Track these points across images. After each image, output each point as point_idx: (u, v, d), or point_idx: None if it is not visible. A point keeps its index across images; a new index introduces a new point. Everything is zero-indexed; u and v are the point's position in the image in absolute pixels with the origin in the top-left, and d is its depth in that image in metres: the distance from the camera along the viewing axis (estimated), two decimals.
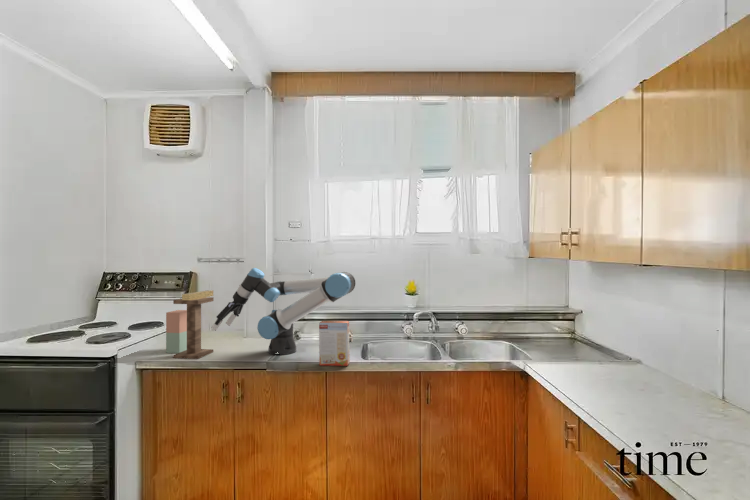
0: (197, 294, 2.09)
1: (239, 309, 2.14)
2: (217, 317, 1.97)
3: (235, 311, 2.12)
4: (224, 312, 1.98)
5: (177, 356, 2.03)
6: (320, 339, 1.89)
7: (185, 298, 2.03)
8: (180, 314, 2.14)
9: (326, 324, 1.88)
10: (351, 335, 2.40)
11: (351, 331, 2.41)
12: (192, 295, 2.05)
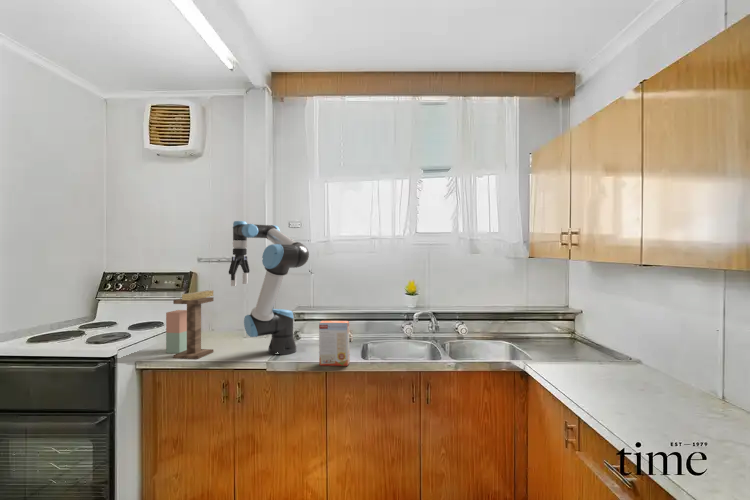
0: (197, 294, 2.09)
1: (246, 266, 2.33)
2: (229, 272, 2.16)
3: (244, 268, 2.31)
4: (232, 265, 2.17)
5: (177, 356, 2.03)
6: (320, 339, 1.89)
7: (185, 298, 2.03)
8: (180, 314, 2.14)
9: (326, 324, 1.88)
10: (351, 335, 2.39)
11: (351, 331, 2.41)
12: (192, 295, 2.05)
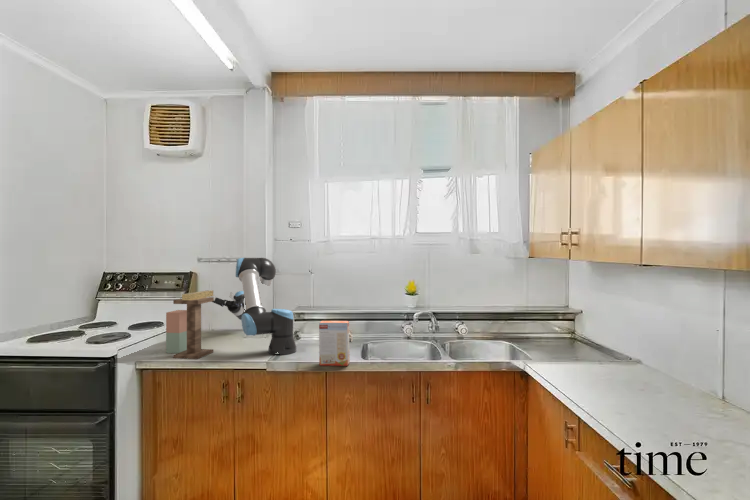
0: (197, 294, 2.09)
1: None
2: None
3: (234, 300, 2.41)
4: None
5: (177, 356, 2.03)
6: (320, 339, 1.89)
7: (185, 298, 2.03)
8: (180, 314, 2.14)
9: (326, 324, 1.88)
10: (351, 335, 2.39)
11: (351, 331, 2.41)
12: (192, 295, 2.05)
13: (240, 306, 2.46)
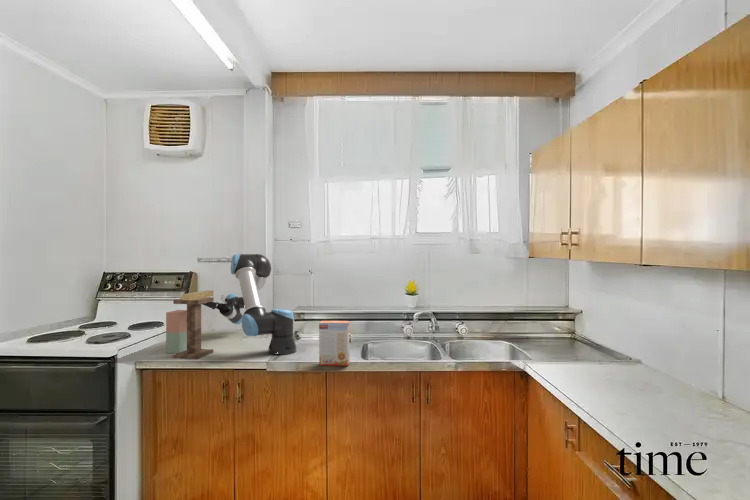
0: (197, 294, 2.09)
1: None
2: None
3: None
4: None
5: (177, 356, 2.03)
6: (320, 339, 1.89)
7: (185, 298, 2.03)
8: (180, 314, 2.14)
9: (326, 324, 1.88)
10: (351, 335, 2.39)
11: (351, 331, 2.41)
12: (192, 295, 2.05)
13: (232, 309, 2.37)
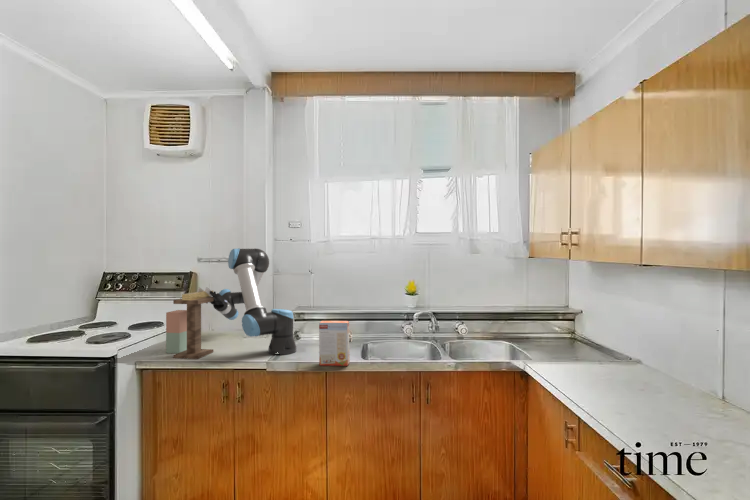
0: (197, 294, 2.09)
1: None
2: None
3: None
4: None
5: (177, 356, 2.03)
6: (320, 339, 1.89)
7: (185, 298, 2.03)
8: (180, 314, 2.14)
9: (326, 324, 1.88)
10: (350, 335, 2.39)
11: (350, 331, 2.41)
12: (192, 295, 2.05)
13: (224, 303, 2.29)
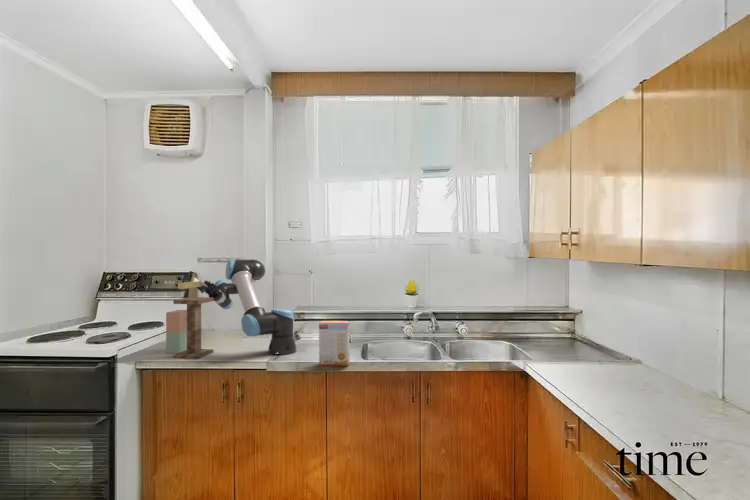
0: (192, 283, 2.22)
1: None
2: None
3: None
4: None
5: (177, 356, 2.03)
6: (320, 339, 1.89)
7: (181, 287, 2.15)
8: (180, 314, 2.14)
9: (326, 324, 1.88)
10: (350, 335, 2.39)
11: (350, 331, 2.41)
12: (187, 284, 2.17)
13: (219, 292, 2.41)
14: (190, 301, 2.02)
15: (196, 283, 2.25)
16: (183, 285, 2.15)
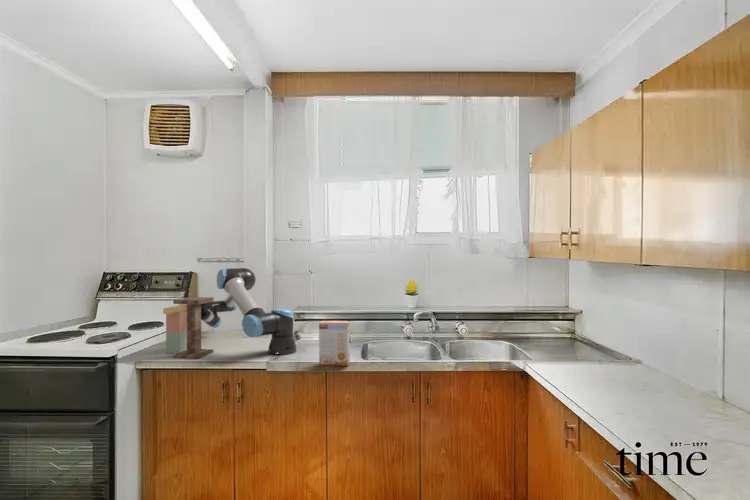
0: (178, 308, 2.15)
1: None
2: None
3: None
4: None
5: (177, 356, 2.03)
6: (320, 339, 1.89)
7: (166, 312, 2.09)
8: (180, 314, 2.14)
9: (326, 324, 1.88)
10: (350, 335, 2.39)
11: (350, 331, 2.40)
12: (173, 309, 2.11)
13: (208, 312, 2.35)
14: (190, 301, 2.02)
15: (182, 307, 2.19)
16: (169, 310, 2.09)
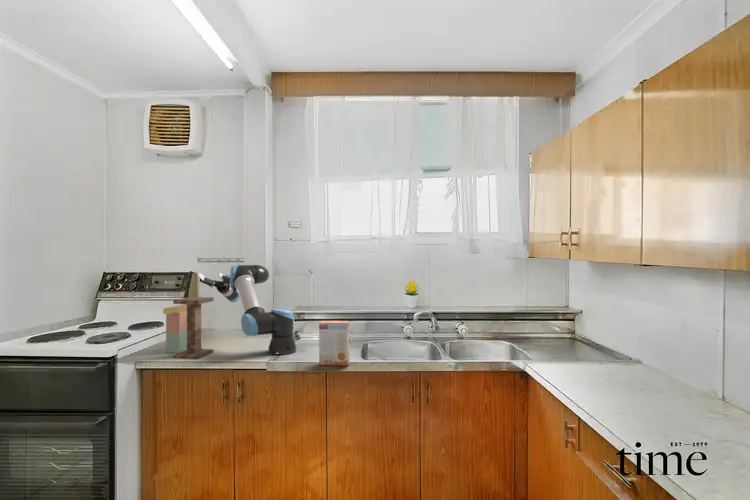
0: (178, 308, 2.15)
1: None
2: None
3: None
4: None
5: (177, 356, 2.03)
6: (320, 339, 1.89)
7: (166, 312, 2.09)
8: (180, 314, 2.14)
9: (326, 324, 1.88)
10: (350, 335, 2.39)
11: (350, 331, 2.40)
12: (173, 309, 2.11)
13: (229, 286, 2.51)
14: (190, 301, 2.02)
15: (182, 307, 2.19)
16: (169, 310, 2.09)
